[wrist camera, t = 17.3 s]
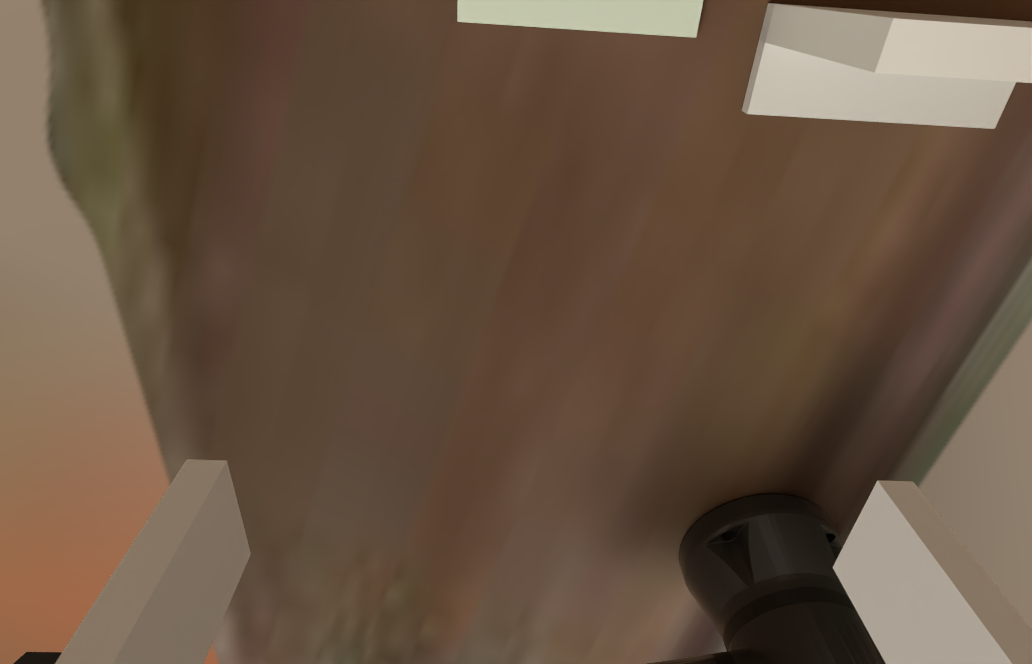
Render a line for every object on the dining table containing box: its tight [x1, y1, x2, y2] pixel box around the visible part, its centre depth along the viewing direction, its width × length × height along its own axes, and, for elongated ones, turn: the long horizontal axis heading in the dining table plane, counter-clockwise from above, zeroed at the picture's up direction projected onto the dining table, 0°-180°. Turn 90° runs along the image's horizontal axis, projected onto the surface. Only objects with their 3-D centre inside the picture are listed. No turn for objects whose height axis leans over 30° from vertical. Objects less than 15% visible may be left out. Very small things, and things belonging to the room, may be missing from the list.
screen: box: [742, 3, 1032, 129], centre depth 31 cm, size 6×16×13 cm, turn 86°
